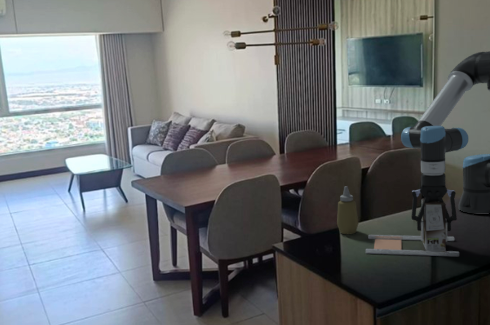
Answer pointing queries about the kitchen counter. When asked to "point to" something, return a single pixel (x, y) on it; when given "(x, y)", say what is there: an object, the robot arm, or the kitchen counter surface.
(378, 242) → the pad
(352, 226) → the squeeze bottle
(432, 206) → the coffee box
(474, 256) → the kitchen counter surface
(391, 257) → the kitchen counter surface
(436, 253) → the rail
